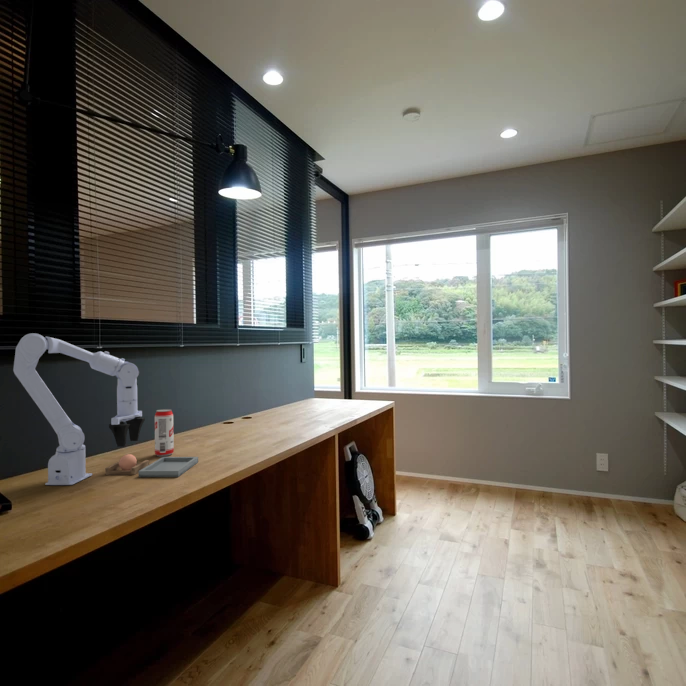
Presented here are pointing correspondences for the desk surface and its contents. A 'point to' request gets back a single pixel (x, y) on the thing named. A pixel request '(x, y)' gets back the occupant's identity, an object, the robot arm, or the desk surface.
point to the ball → (127, 462)
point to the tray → (168, 467)
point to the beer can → (164, 432)
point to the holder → (134, 470)
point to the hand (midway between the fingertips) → (127, 443)
